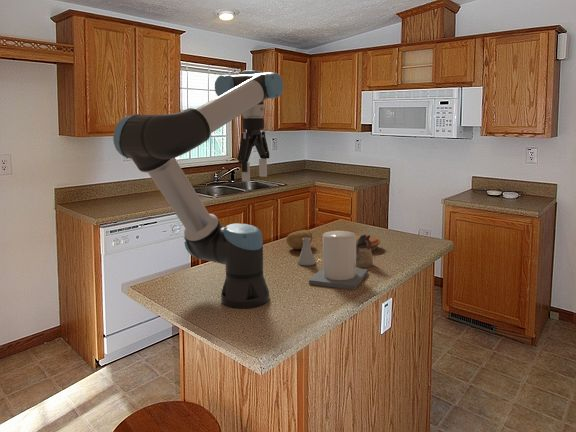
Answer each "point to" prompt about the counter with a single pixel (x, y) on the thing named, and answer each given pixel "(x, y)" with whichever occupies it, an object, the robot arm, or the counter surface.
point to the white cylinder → (339, 255)
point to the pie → (374, 242)
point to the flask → (306, 254)
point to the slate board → (345, 284)
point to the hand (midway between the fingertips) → (254, 179)
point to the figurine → (363, 252)
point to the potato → (298, 238)
